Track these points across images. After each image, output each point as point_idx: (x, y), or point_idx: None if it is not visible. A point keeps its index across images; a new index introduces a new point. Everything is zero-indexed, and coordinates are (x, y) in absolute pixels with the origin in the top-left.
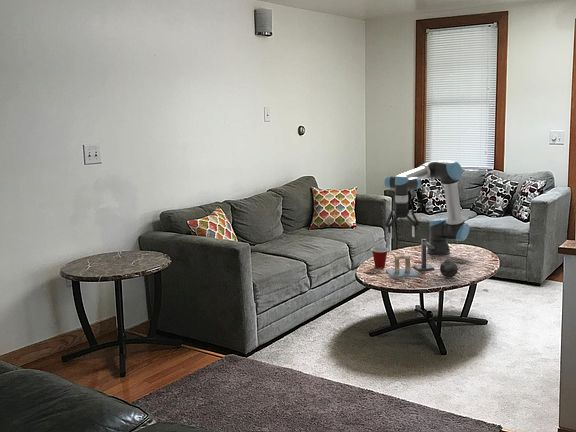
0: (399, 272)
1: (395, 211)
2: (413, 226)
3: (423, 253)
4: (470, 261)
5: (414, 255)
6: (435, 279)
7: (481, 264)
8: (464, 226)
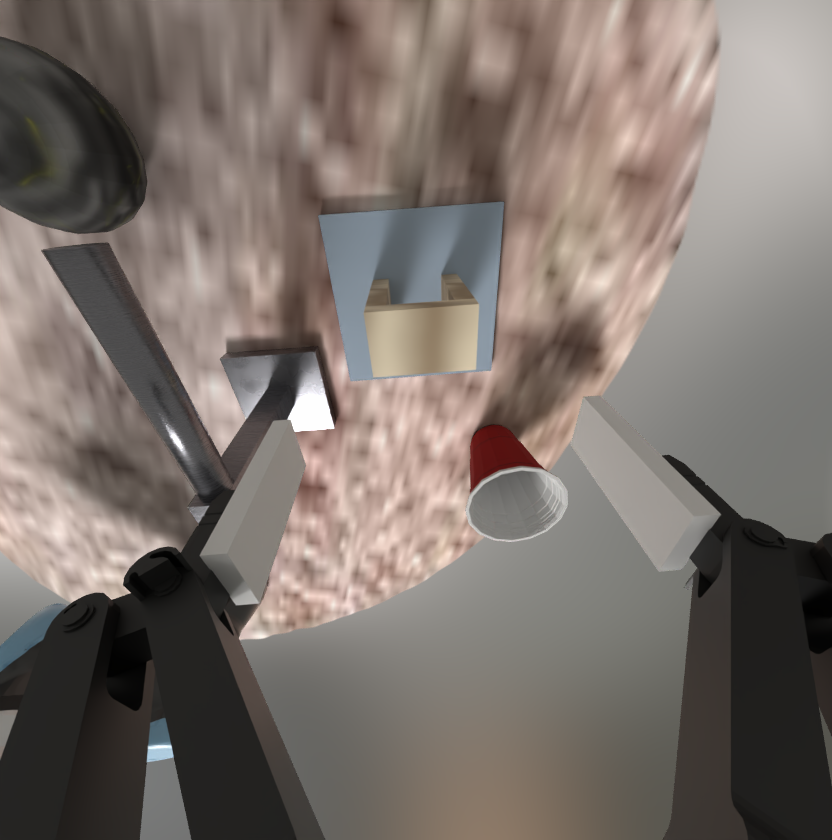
0: None
1: None
2: (223, 557)
3: (257, 431)
4: (58, 474)
5: (316, 561)
6: (202, 102)
7: None
8: None
